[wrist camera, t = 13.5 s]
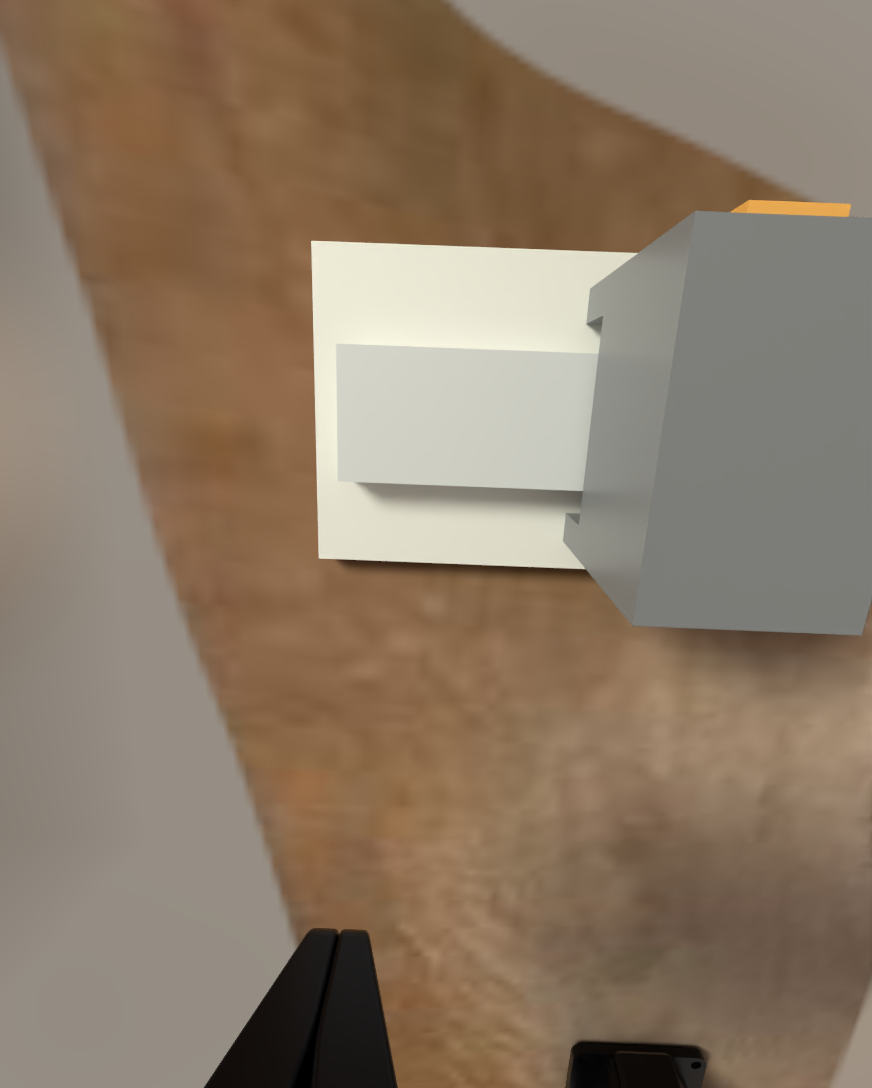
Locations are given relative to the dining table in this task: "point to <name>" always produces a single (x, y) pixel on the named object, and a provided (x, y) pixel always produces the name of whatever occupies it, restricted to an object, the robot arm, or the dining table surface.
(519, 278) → the rail plate
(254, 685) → the dining table surface
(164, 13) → the dining table surface
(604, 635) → the dining table surface
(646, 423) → the din module
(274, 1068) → the robot arm
